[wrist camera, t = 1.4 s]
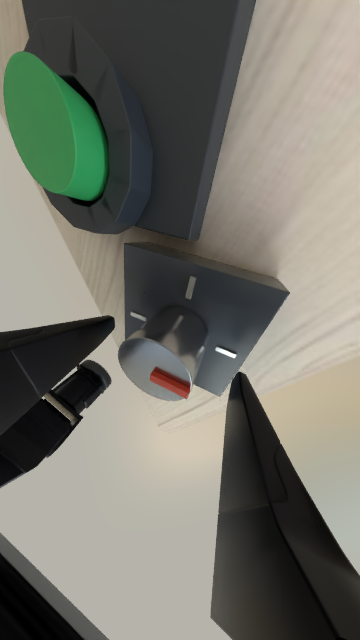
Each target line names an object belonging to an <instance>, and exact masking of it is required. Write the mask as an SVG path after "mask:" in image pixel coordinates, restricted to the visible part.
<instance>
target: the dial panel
mask: <svg viewBox="0 0 360 640" xmlns="http://www.w3.org/2000/svg"><path fill="white" fill-rule="evenodd" d="M124 282H125V340H126V339H127V338H129V337H130V336H131V335H132V334H133V333H134V332H136V331H137V330H138V329H139V328H140V327H141V326H143V325H144V324H145V323H146V322H147V321H148V320H150V319H151V318H152V317H153V316H154V315H155V314H157V313H158V312H159V311H160V310H161V309H163V308H165V307H168V306H181V307H185V308H187V309H190V310H191V311H193V312H194V313H196V314H197V315H198V316H199V317H200V318H201V319H202V320H203V322H204V324H205V326H206V328H207V331H208V342H207V345H206V348H205V351H204V354H203V357H202V360H201V363H200V366H199V369H198V372H197V375H196V378H195V380H194V383H193V384H195V385H197V386H199V387H201V388H203V389H205V390H207V391H209V392H211V393H213V394H215V395H217V396H221V395H222V393H223V392H224V390H225V389H226V387H227V386H228V384H229V383H230V381H231V380H232V378H233V377H234V375H235V374H236V372H237V371H238V369H239V368H240V367H241V365H242V364H243V362H244V361H245V359H246V358H247V356H248V355H249V353H250V352H251V350H252V349H253V347H254V346H255V344H256V343H257V341H258V340H259V338H260V337H261V335H262V334H263V332H264V331H265V330H266V328H267V327H268V325H269V324H270V322H271V321H272V319H273V318H274V316H275V315H276V313H277V312H278V310H279V309H280V307H281V306H282V304H283V303H284V301H285V300H286V298H287V297H288V296H289V294H290V292H289V291H288V290H287V289H286V288H285V286H284V285H283V284H282V283H281V282H280V281H279V280H278V279H276V278H272V277H269V276H265V275H262V274H258V273H255V272H251V271H248V270H244V269H241V268H237V267H234V266H230V265H227V264H223V263H220V262H216V261H213V260H209V259H206V258H202V257H199V256H195V255H192V254H188V253H185V252H181V251H178V250H174V249H171V248H167V247H164V246H160V245H157V244H153V243H150V242H142V243H124Z"/></svg>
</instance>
